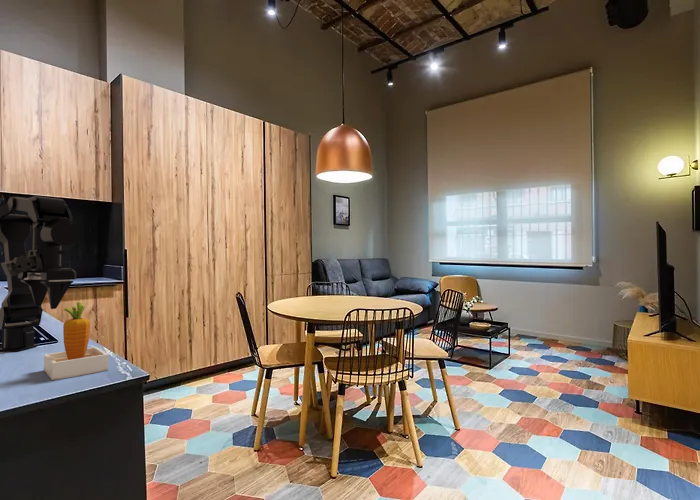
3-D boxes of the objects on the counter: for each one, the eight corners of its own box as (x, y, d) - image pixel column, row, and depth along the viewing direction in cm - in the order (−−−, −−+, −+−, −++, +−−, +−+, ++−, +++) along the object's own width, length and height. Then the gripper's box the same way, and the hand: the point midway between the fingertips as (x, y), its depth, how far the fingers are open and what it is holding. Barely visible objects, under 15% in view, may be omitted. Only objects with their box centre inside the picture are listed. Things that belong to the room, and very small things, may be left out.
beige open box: (43, 370, 86) (44, 354, 86) (96, 361, 93) (96, 347, 94) (52, 380, 79) (52, 363, 79) (108, 370, 87) (108, 354, 87)
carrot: (75, 372, 83) (77, 304, 84) (56, 370, 84) (58, 303, 85) (94, 365, 88) (95, 302, 89) (76, 364, 89) (77, 301, 90)
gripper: (-8, 245, 94) (-10, 308, 94) (21, 244, 84) (19, 314, 84) (46, 247, 104) (45, 303, 103) (78, 246, 94) (76, 308, 93)
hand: (45, 307), depth 96 cm, fingers open, 9 cm apart
